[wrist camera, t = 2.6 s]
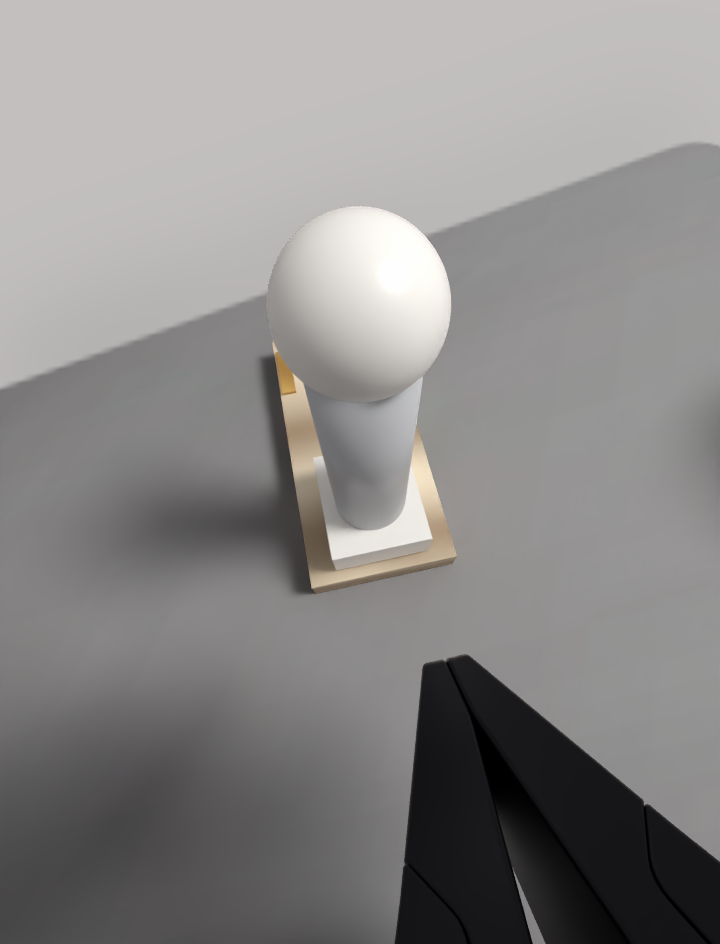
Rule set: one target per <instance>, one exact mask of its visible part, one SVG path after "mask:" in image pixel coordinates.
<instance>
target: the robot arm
mask: <svg viewBox="0 0 720 944" xmlns="http://www.w3.org/2000/svg"><path fill="white" fill-rule="evenodd" d="M404 862H405V866H404V867H403V875H402V886H401V896H400V905H399V913H398V921H397V929H396V937H395V944H533V943H532V939H531V936H530V932H529V928H528V925H527V921H526V917H525V913H524V910H523V906H522V902H521V899H520V895H519V891H518V888H517V884H516V880H515V876H514V873H513V869H514V872H515V874H516V876H517V879H518V881H519V883H520V886H521V888H522V890H523V892H524V895H525V897H526V899H527V902H528V904H529V906H530V909H531V911H532V913H533V915H534V918H535V920H536V922H537V925H538V927H539V929H540V932H541V934H542V936H543V938H544V941H545V943H546V944H720V862H719V861H718V860H717V859H716V858H714V857H713V856H712V855H711V854H709V853H708V852H707V851H706V850H704V849H703V848H702V847H700V846H699V845H698V844H697V843H695V842H694V841H693V840H692V839H690V838H689V837H688V836H687V835H685V834H684V833H683V832H682V831H680V830H679V829H678V828H677V827H675V826H674V825H673V824H672V823H671V822H669V821H668V820H667V819H666V818H665V817H663V816H662V815H661V814H660V813H659V812H657V811H656V810H655V809H654V808H653V807H651V806H650V805H648V804H646V805H645V806H644V801H643V800H642V799H641V798H640V797H639V796H638V795H637V794H635V793H634V792H633V791H632V790H631V789H629V788H628V787H627V786H626V785H625V784H623V783H622V782H621V781H620V780H619V779H617V778H616V777H615V776H614V775H612V774H611V773H610V772H609V771H608V770H606V769H605V768H604V767H603V766H602V765H600V764H599V763H598V762H597V761H596V760H594V759H593V758H592V757H591V756H590V755H588V754H587V753H586V752H585V751H584V750H582V749H581V748H580V747H579V746H578V745H576V744H575V743H574V742H573V741H571V740H570V739H569V738H568V737H567V736H565V735H564V734H563V733H562V732H561V731H559V730H558V729H557V728H556V727H555V726H553V725H552V724H551V723H550V722H549V721H547V720H546V719H545V718H544V717H543V716H541V715H540V714H539V713H538V712H537V711H535V710H534V709H533V708H532V707H530V706H529V705H528V704H527V703H526V702H524V701H523V700H522V699H521V698H520V697H518V696H517V695H516V694H515V693H514V692H512V691H511V690H510V689H509V688H508V687H506V686H505V685H504V684H503V683H502V682H500V681H499V680H498V679H497V678H496V677H494V676H493V675H492V674H491V673H489V672H488V671H487V670H486V669H485V668H483V667H482V666H481V665H480V664H479V663H477V662H476V661H475V660H474V659H473V658H471V657H470V656H469V655H466V654H464V655H459V656H455V657H451V658H448V659H447V660H446V662H445V661H444V660H438V661H433V662H429V663H425V664H424V665H423V669H422V679H421V690H420V700H419V711H418V721H417V732H416V743H415V753H414V764H413V774H412V785H411V795H410V806H409V816H408V827H407V837H406V847H405V858H404ZM512 867H513V869H512Z"/></svg>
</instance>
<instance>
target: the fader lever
mask: <svg viewBox="0 0 720 944" xmlns="http://www.w3.org/2000/svg"><path fill="white" fill-rule="evenodd" d="M450 314H451V295H450V287H449V282H448V278H447V274H446V271H445V268H444V266H443V264H442V261H441V259H440V257H439V255H438V253H437V251H436V250H435V249H434V247H433V246H432V244H431V243H430V242H429V240H428V239H427V238H426V237H425V236H424V235H423V234H422V233H421V232H420V231H419V230H418V229H417V228H416V227H415V226H414V225H412V224H411V223H409V222H408V221H407V220H405V219H403V218H401V217H399V216H397V215H396V214H393V213H391V212H388V211H386V210H383V209H378V208H374V207H365V206H355V207H345V208H340V209H335V210H332V211H329V212H326V213H324V214H322V215H320V216H318V217H316V218H314V219H313V220H311V221H310V222H308V223H307V224H306V225H304V226H303V227H302V228H300V229H299V230H298V231H297V232H296V233H295V235H293V237H292V238H291V239H290V240H289V241H288V242H287V243H286V245H285V246H284V248H283V249H282V251H281V253H280V255H279V256H278V258H277V261H276V263H275V265H274V267H273V270H272V274H271V277H270V281H269V285H268V293H267V317H268V323H269V328H270V332H271V336H272V339H273V341H274V343H275V346H276V348H277V350H278V353H279V355H280V356H281V358H282V359H283V361H284V362H285V364H286V365H287V367H288V368H289V369H290V370H291V371H292V373H293V374H294V375H295V376H296V377H297V378H298V379H299V380H301V381H302V382H303V384H304V388H305V392H306V396H307V399H308V403H309V407H310V411H311V414H312V418H313V422H314V426H315V429H316V433H317V437H318V441H319V444H320V448H321V452H322V456H319V457H314V458H313V459H314V465H315V470H316V475H317V481H318V486H319V492H320V497H321V503H322V508H323V513H324V519H325V524H326V530H327V535H328V541H329V546H330V551H331V557H332V561H333V564H334V566H335V568H336V570H341V569H345V568H350V567H354V566H359V565H363V564H368V563H373V562H377V561H382V560H386V559H391V558H395V557H400V556H405V555H409V554H414V553H418V552H423V551H427V550H428V549H429V546H430V544H431V541H432V539H433V538H432V535H431V532H430V528H429V525H428V521H427V518H426V514H425V511H424V507H423V504H422V500H421V497H420V493H419V490H418V486H417V483H416V479H415V476H414V472H413V469H412V465H411V458H412V451H413V444H414V437H415V430H416V423H417V416H418V409H419V402H420V395H421V388H422V381H423V375H424V373H425V372H426V371H427V370H428V369H429V367H430V366H431V365H432V364H433V362H434V361H435V359H436V357H437V356H438V354H439V352H440V350H441V348H442V346H443V343H444V341H445V338H446V335H447V331H448V327H449V323H450Z"/></svg>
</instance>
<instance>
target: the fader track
mask: <svg viewBox="0 0 720 944" xmlns="http://www.w3.org/2000/svg"><path fill="white" fill-rule="evenodd" d="M272 344H273V350H274V356H275V363H276V369H277V375H278V381H279V388H280V394H281V400H282V406H283V413H284V419H285V425H286V431H287V438H288V444H289V450H290V456H291V462H292V469H293V475H294V481H295V487H296V494H297V500H298V506H299V512H300V519H301V525H302V531H303V537H304V544H305V550H306V556H307V562H308V568H309V575H310V581H311V587H312V589H313V591H314V592H315V593H321V592H326V591H330V590H335V589H339V588H344V587H348V586H353V585H357V584H362V583H366V582H371V581H375V580H380V579H384V578H389V577H393V576H398V575H403V574H407V573H412V572H416V571H421V570H425V569H430V568H434V567H439V566H443V565H448V564H452V563H453V562H454V560H455V558H456V557H457V555H456V552H455V549H454V545H453V542H452V539H451V535H450V532H449V529H448V526H447V522H446V519H445V516H444V513H443V509H442V506H441V503H440V500H439V496H438V493H437V490H436V486H435V483H434V480H433V477H432V473H431V470H430V467H429V464H428V460H427V457H426V454H425V450H424V447H423V444H422V441H421V437H420V434H419V431H418V428H417V424H416V430H415V437H414V444H413V451H412V458H411V465H412V469H413V472H414V476H415V479H416V483H417V486H418V490H419V493H420V497H421V500H422V504H423V507H424V511H425V514H426V518H427V521H428V525H429V528H430V532H431V535H432V538H433V539H432V541H431V544H430V546H429V549H428V550H427V551H423V552H418V553H414V554H409V555H405V556H400V557H395V558H391V559H386V560H382V561H377V562H373V563H368V564H363V565H359V566H354V567H350V568H345V569H341V570H336V568H335V566H334V564H333V561H332V557H331V551H330V546H329V541H328V535H327V530H326V524H325V519H324V513H323V508H322V503H321V497H320V492H319V486H318V481H317V475H316V470H315V465H314V459H313V458H314V457H319V456H322V452H321V448H320V444H319V441H318V437H317V433H316V429H315V426H314V422H313V418H312V414H311V411H310V407H309V403H308V399H307V396H306V392H305V388H304V384H303V382H302V381H301V380H299V379H298V378H297V377H296V376H295V375H294V374H293V373H292V371H291V370H290V369H289V368H288V367H287V365H286V364H285V362H284V361H283V359H282V358H281V356H280V355H279V353H278V350H277V348H276V346H275V343H274V342H272Z"/></svg>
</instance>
